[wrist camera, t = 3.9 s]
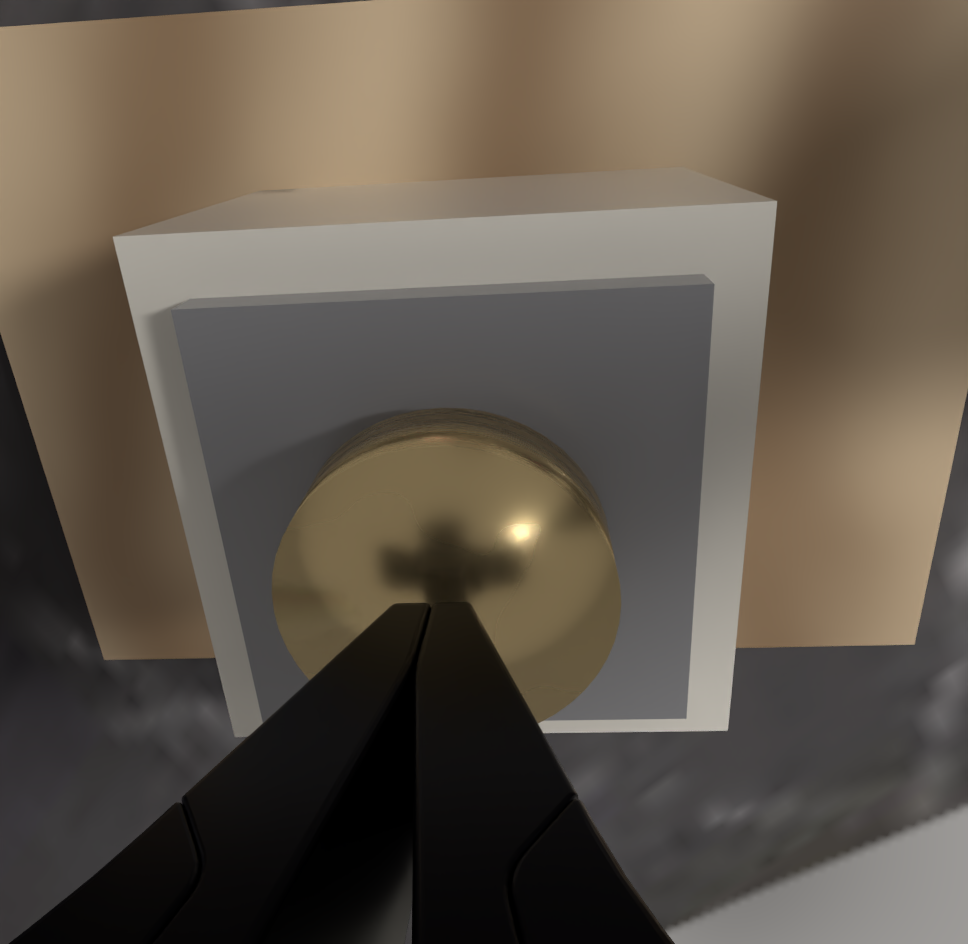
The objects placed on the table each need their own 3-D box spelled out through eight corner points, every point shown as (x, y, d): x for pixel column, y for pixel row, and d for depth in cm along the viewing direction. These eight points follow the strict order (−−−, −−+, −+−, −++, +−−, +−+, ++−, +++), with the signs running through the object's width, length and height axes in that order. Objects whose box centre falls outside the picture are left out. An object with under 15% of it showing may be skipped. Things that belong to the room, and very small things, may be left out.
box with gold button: (681, 166, 15) (794, 207, 9) (662, 615, 19) (727, 852, 13) (259, 190, 15) (88, 244, 9) (331, 622, 19) (245, 853, 13)
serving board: (1030, -41, 14) (1059, -49, 13) (899, 624, 20) (914, 644, 19) (-65, 37, 15) (-95, 34, 14) (118, 640, 21) (104, 660, 20)
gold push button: (618, 254, 14) (697, 371, 8) (615, 524, 16) (673, 781, 10) (318, 270, 14) (162, 393, 8) (354, 532, 16) (256, 785, 10)
